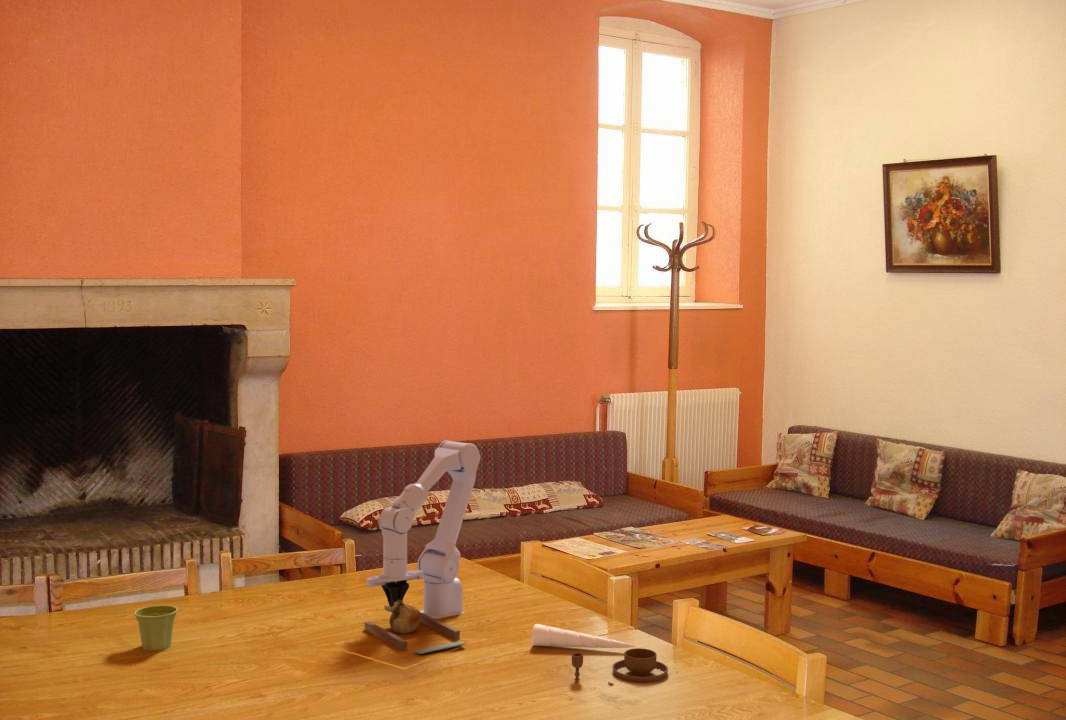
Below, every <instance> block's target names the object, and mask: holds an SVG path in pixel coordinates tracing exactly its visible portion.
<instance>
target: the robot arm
mask: <svg viewBox="0 0 1066 720" xmlns="http://www.w3.org/2000/svg"><path fill="white" fill-rule="evenodd" d="M481 457H482V456H481V454H480V451H479V449H478V447H477V445H476V444H474V443H473V442H472V443H471V442H470V443H466V442H459V441H452V440H449V439H446V440H443V441H441V442H440V444H439V445H438V447H437V448H436V449H435V450H434V457H433V459H432V460H431V462H430V463H429V464H428V466H427V467H426V469H425V470H424V471H423V473H422V474H421V475H420V477H419V478H418V480H417V481H416V482H415V483H410V484H409V483H408V485H406V486H405V487H404V488H403V489H404V490H403V491H402V492H401V494H400V495H399V496H398V497H397V499H396V500H394V502H392V504H391V506H387V507H385V508H384V509H382V511H381V512H380V515H379V518H378V519H377V523H378V526H379V528H380V530H381V535H382V537H383V540H382V541H383V542H382V543H383V544H382V547H383V549H382V552H383V554H382V555H383V558H382V561H383V563H382V567H383V568H382V569H383V570H382V571H383V573H381V574H378V575H373V576H371V577H366V581H365V583H366V584H365V585H366V587H367V588H370V589H372V588H374V587H378V586H381V588H382V590H383V591H384V595H385V596H386V599H387V601H388V606H389V607H393V606H394V602H397V600H402V601H403V602H404V598H405V595H406V593H407V592H408V590H409V588H410V583H408V582H409V581H414V580H415V581H416V580H419V581H421V580H423V609H422V610H421V609H420V610H419V611H420V612H421V613H423V614H426V615H428V616H430V617H432V618H434V619H436V620H438V619H442V618H448V617H451V616H452V617H453V616H456V615H457V616H458V615H462V614H463V615H464V614H465V612H464V611H463V608H464V606H463V602H464V601H463V600H464V599H463V595H464V594H463V593H464V591H463V584H462V582H461V579H459V578H458V577H457V576H458V574H459V570H460V559H461V552H460V551H459V550H458V548H457V546H456V544H457V540H458V537H459V533H460V530H461V527H462V524H463V521H464V517H465V516H466V515H465V514H466V511H467V508H468V505H469V502H470V498H471V495H472V492H473V489H474V486H475V483H476V479H477V478H476V477H477V471H478V468H479V464H480V461H481ZM446 472H447V473H449V475H450V477H451V479H452V482H451V485H450V489H449V492H448V496H447V498H446V502H445V505H444V508H443V511H442V515H441V517H440V520H439V524H438V526H437V531H436V533H435V536H434V538H433V540H431V541H430V542H428V543H426V544H425V546H424V549H423V551H422V552H421V554H420V555H419V557H418V559H417V562H416V563H417V564H416V566H417V570H408V531H409V530H410V529H412V525H413V523H414V522H413V521H414V518H415V516H416V514H417V512H418V511H419V510H420V509H421V508H422V507H423V504H424V503H425V502H426V501H427V500H428V492H429V490H430V489H431V488H432V487H433V486H434V485H435V484H436V483H437V482H438V481H439V480H440V479H441V478H442V476H444V475H445V474H446ZM392 613H393V612H391V614H392Z"/></svg>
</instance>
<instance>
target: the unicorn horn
mask: <svg viewBox="0 0 1066 720" xmlns="http://www.w3.org/2000/svg"><path fill="white" fill-rule="evenodd" d="M531 644H532V645H533V646H538V647H539V646H541V647H561V648H562V647H563V648H565V647H566V648H567V647H569V648H589V649H591V648H592V649H596V648H598V649H599V648H600V649H629V648H630V649H633V648H635V647H636V646H635V644H634V645H633V644H631V643H629V642H628V643H627V642H623V641H619V640H615V639H611V638H607V637H602V636H597V635H592V634H587V633H584V632H577V631H574V630H568V629H562V628H560V627H554V626H549V625H548V626H547V625H544V624H539V623H535V624H534V625H533V627H532V631H531Z"/></svg>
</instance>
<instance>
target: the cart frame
mask: <svg viewBox="0 0 1066 720" xmlns="http://www.w3.org/2000/svg"><path fill="white" fill-rule="evenodd" d="M420 614H421V622H420V624H423V625H425V626H426V627H429V628H431V629H433V630H435V631H437V632H439V633H441V634H442V635H444V636H446V637H449V638H451V639H453V640H455V641H456V640H460V639H461V636H460V635H461V633H460V632H461V631H460V630H458V629H456V628H455V627H452V626H450V625H448V624H446V623H445V622H442V621H440V620H438V619H434V618H432V617H430V616H428V615H426V614H423V613H421V612H420ZM364 631H366V632H368V633H370V634H372V635H374V636H375V637H377V638H378V639H380V640H382V641H384V642H385V643H388V644H390V645H391V646H392V647H394V648H396V649H398V650H400V651H402V652H405V651H408V641H407V640H406V639H403V638H401V637H399V636H398V635H396V634H394V633H392V632H390V631H388V630H387V629H385V628H383V627H381V626H379V625H377V624H376V623H374V622H371V621H369V620H368V621H364Z"/></svg>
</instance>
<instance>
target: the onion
mask: <svg viewBox="0 0 1066 720" xmlns="http://www.w3.org/2000/svg"><path fill="white" fill-rule="evenodd" d="M384 610H385V611H387V612H389V613H391V615H390V616H389V622H388V623H389V625H390V628H391V630H392V631H393V632H394V633H395V634H399V635H405V634H411V633H413V632H415V631H416V629H417V630H418V629H419V628H418V627H419V625H420V624H421V614H420V610H419V609H418V608H416V607H415V606H413V605H408V604H406V603H404V600H403V601H402V600H397V602H394V606H393V607H389V605H384ZM392 612H393V613H392Z"/></svg>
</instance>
